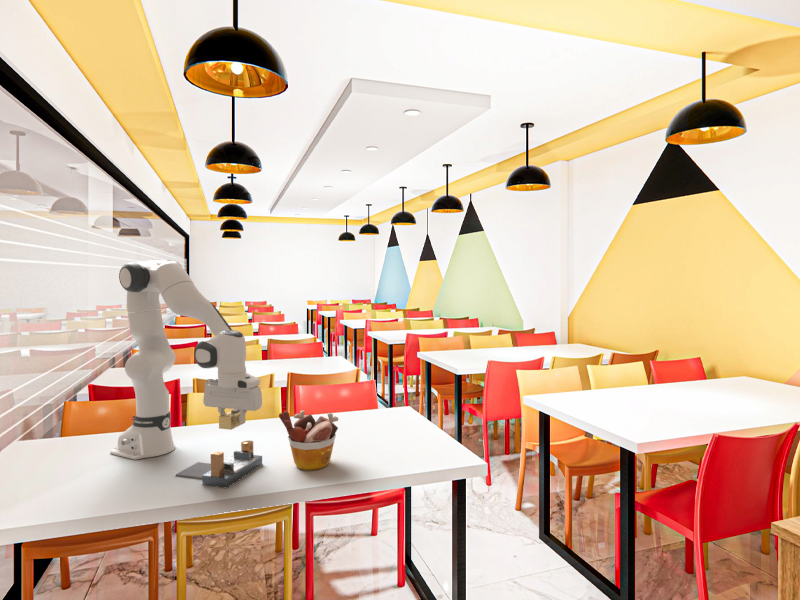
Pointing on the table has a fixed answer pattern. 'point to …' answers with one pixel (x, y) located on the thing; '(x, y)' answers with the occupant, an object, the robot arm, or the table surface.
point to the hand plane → (231, 466)
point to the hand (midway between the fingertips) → (232, 421)
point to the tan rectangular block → (230, 420)
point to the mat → (195, 470)
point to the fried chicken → (310, 439)
